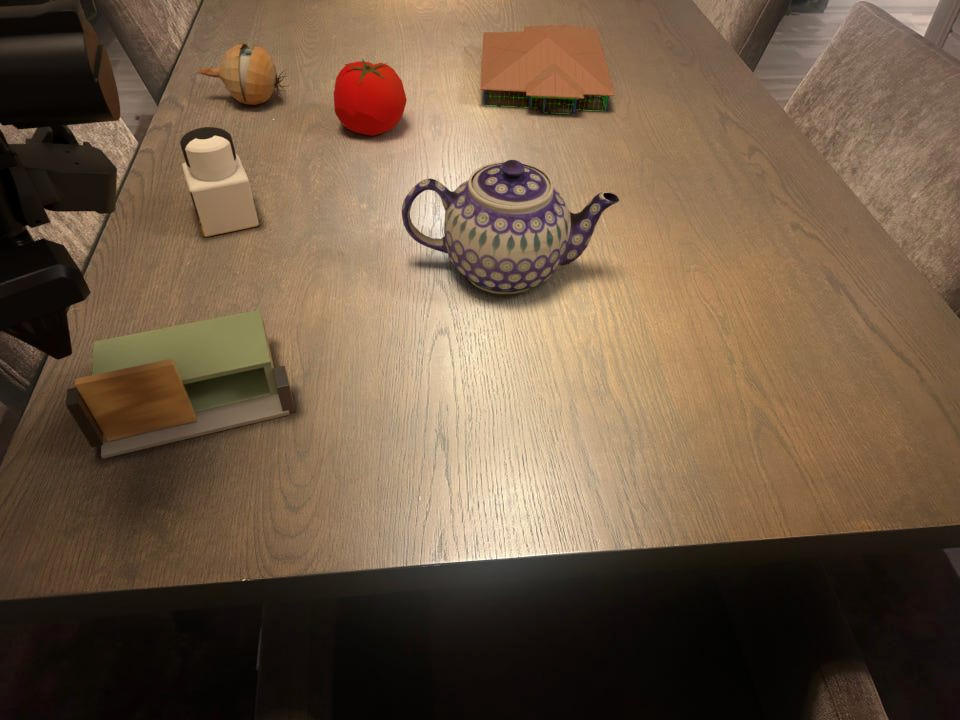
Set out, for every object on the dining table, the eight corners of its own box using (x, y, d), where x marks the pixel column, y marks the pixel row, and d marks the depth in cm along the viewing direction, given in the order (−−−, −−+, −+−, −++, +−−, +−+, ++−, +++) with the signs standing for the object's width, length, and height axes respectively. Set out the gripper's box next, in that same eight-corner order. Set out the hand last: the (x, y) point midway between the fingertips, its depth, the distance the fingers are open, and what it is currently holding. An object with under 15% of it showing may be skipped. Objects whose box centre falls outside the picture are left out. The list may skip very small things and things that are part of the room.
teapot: (395, 301, 80) (387, 190, 69) (414, 227, 91) (409, 121, 80) (607, 317, 79) (632, 208, 68) (600, 241, 90) (621, 136, 79)
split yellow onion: (288, 64, 106) (189, 35, 103) (281, 122, 112) (187, 96, 109) (299, 51, 114) (208, 24, 111) (292, 105, 119) (205, 81, 116)
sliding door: (95, 454, 62) (60, 397, 56) (96, 438, 63) (62, 380, 58) (197, 430, 65) (174, 373, 59) (196, 415, 66) (173, 358, 60)
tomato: (322, 122, 110) (313, 58, 103) (381, 105, 116) (377, 43, 108) (360, 152, 104) (354, 87, 97) (421, 132, 109) (420, 69, 102)
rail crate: (102, 458, 63) (81, 424, 59) (105, 378, 70) (86, 342, 66) (296, 413, 67) (287, 378, 64) (280, 341, 74) (271, 307, 71)
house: (479, 114, 114) (481, 66, 109) (483, 41, 138) (484, -2, 132) (613, 121, 115) (622, 73, 109) (594, 46, 138) (601, 3, 132)
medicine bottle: (195, 210, 91) (169, 126, 83) (248, 199, 94) (229, 117, 85) (204, 238, 87) (178, 153, 78) (259, 226, 89) (240, 142, 81)
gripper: (130, 158, 40) (197, 346, 51) (37, 53, 50) (110, 230, 61) (-89, 220, 35) (38, 414, 46) (-145, 89, 44) (-29, 276, 55)
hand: (45, 322), depth 52 cm, fingers open, 9 cm apart
